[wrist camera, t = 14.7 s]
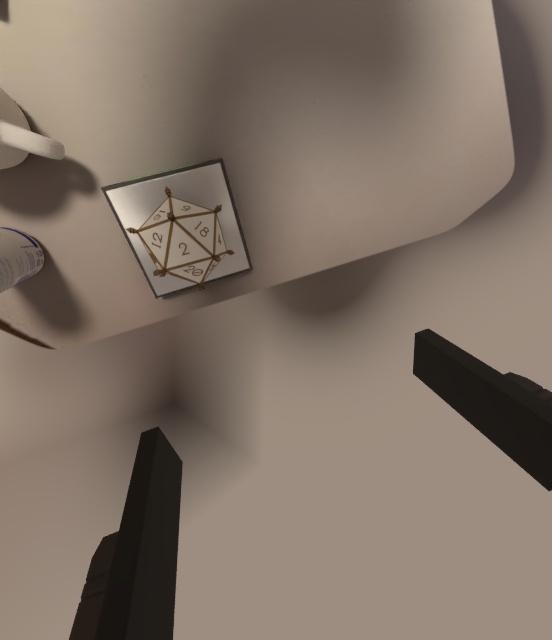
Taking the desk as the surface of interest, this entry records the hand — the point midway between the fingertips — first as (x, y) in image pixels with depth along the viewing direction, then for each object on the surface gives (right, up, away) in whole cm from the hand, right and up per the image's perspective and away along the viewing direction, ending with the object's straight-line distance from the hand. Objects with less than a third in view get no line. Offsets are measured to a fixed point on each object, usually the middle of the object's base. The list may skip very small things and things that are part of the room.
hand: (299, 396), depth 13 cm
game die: (-11, +13, +16) cm, 23 cm away
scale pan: (-11, +13, +16) cm, 23 cm away
